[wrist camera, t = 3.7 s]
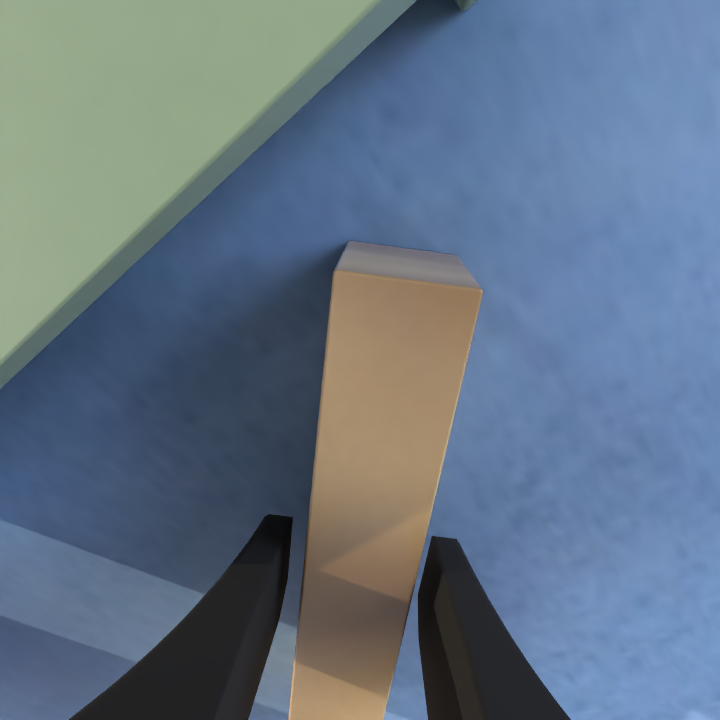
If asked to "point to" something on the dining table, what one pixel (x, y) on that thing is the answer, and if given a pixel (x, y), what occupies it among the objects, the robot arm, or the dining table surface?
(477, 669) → the robot arm
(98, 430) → the dining table surface
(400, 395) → the stick
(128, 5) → the shelf
